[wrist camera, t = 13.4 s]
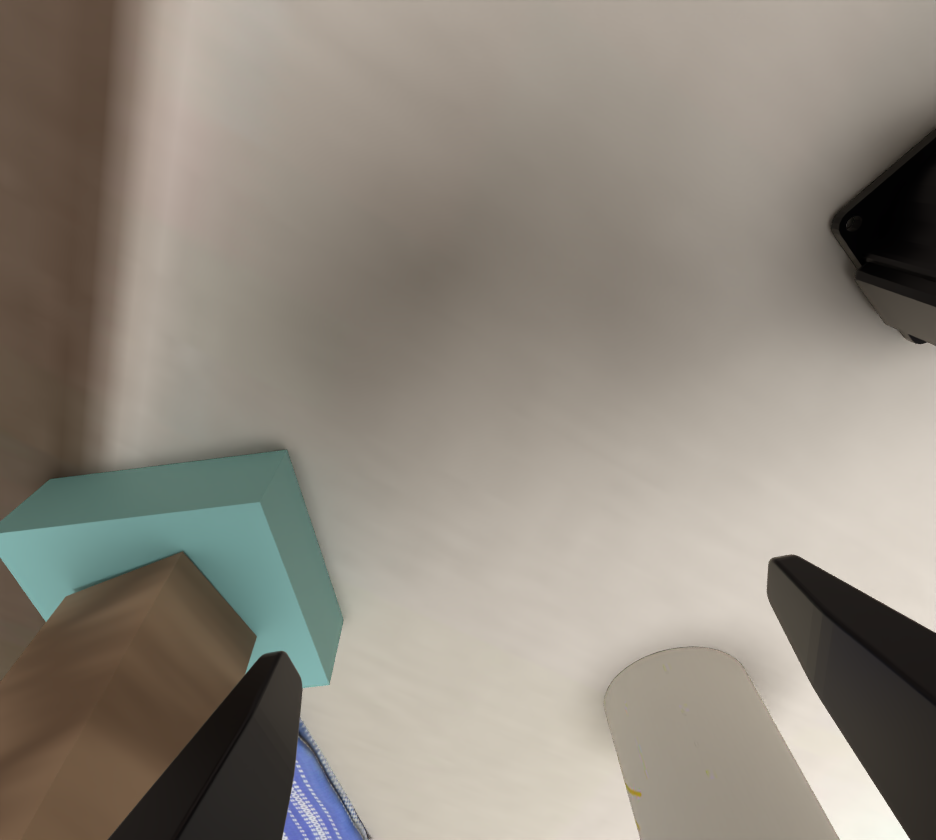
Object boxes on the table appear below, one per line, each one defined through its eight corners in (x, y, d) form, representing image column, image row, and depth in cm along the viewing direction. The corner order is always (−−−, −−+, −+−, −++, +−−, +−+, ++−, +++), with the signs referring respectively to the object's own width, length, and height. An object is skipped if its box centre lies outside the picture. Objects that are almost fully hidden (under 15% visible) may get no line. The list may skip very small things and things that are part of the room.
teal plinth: (289, 444, 22) (259, 501, 19) (345, 613, 27) (329, 684, 23) (57, 472, 22) (-16, 535, 19) (152, 635, 27) (107, 709, 24)
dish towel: (-110, 740, 31) (-159, 794, 28) (284, 672, 29) (269, 723, 27) (58, 877, 39) (32, 928, 36) (374, 830, 37) (369, 880, 35)
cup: (574, 706, 30) (642, 1011, 20) (683, 625, 28) (831, 931, 17) (668, 754, 33) (773, 1046, 22) (777, 685, 30) (956, 982, 20)
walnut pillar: (182, 551, 19) (-147, 1138, 8) (257, 636, 22) (83, 1187, 10) (65, 596, 20) (-405, 1212, 8) (150, 674, 22) (-129, 1242, 11)
